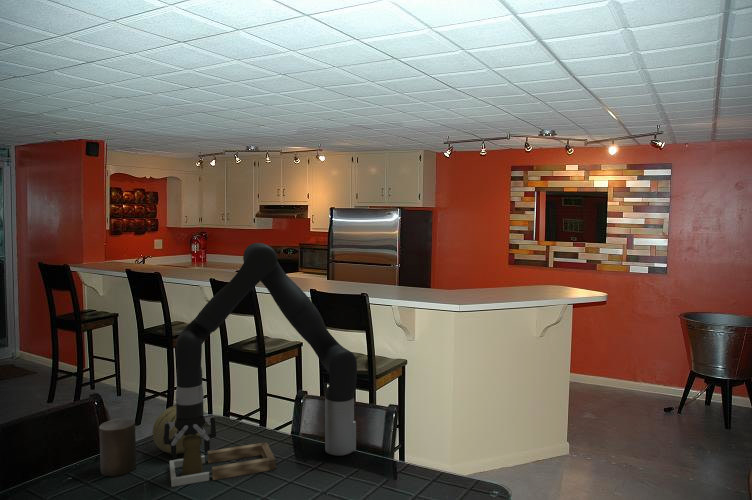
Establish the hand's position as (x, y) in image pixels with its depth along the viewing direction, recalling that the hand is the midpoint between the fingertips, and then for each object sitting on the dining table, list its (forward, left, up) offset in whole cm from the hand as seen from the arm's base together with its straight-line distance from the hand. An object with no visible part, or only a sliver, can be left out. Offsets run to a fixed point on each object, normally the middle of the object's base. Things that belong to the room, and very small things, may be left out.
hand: (190, 454), depth 159 cm
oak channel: (-14, 0, -6) cm, 16 cm away
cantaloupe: (+3, -17, -6) cm, 18 cm away
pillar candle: (+20, -11, -6) cm, 23 cm away
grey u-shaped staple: (0, 0, -6) cm, 6 cm away
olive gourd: (0, 0, -6) cm, 6 cm away
